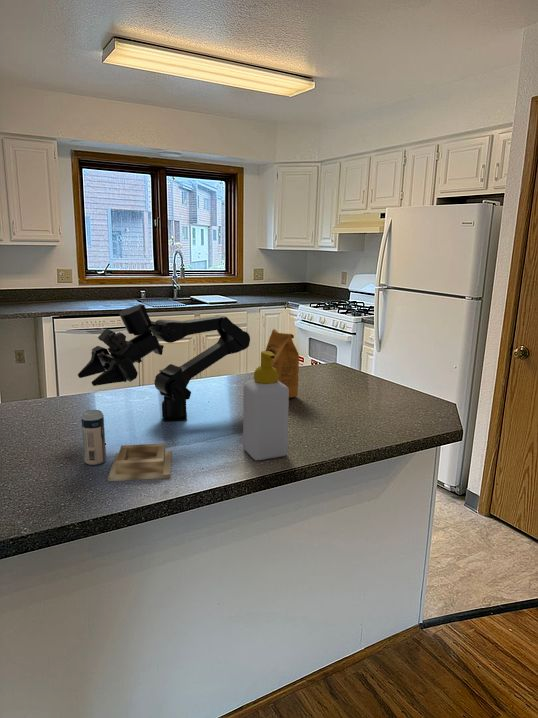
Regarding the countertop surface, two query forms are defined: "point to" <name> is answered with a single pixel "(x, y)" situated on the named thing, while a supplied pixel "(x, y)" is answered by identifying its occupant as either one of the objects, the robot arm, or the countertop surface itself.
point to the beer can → (93, 437)
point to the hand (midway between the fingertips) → (85, 380)
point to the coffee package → (285, 360)
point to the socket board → (141, 462)
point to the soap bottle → (265, 412)
